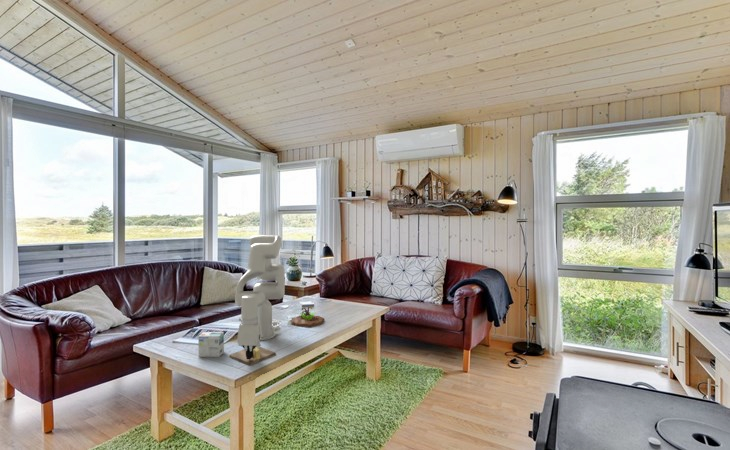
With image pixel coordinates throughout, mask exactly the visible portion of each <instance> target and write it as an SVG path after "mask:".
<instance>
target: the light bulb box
mask: <svg viewBox="0 0 730 450" xmlns="http://www.w3.org/2000/svg"><path fill="white" fill-rule="evenodd" d="M224 334H225V333H224V331H204V332H203V331H202V333H201V334H200V335H198V336H197V337H198V339H197V340H198V357H199V358H203V357H204V358H209V357H210V358H213V357H214V358H217V357H218V358H219V357H221V356H222V354H224V353H225V339H224V338H225V335H224Z"/></svg>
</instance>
